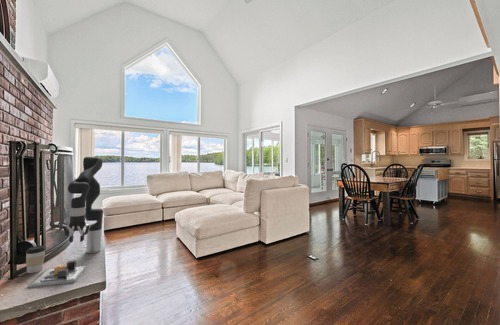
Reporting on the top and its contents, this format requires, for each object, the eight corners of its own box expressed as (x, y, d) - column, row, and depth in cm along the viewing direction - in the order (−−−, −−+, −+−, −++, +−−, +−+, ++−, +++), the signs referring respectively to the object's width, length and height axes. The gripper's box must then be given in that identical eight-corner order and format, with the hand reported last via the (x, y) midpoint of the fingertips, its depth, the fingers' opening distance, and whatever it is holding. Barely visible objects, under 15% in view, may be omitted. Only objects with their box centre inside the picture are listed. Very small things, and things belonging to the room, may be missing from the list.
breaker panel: (44, 272, 135) (44, 262, 135) (85, 268, 142) (86, 258, 142) (27, 287, 120) (27, 275, 119) (74, 282, 127) (75, 270, 127)
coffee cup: (46, 269, 139) (48, 246, 139) (27, 275, 131) (28, 251, 131) (41, 265, 143) (42, 243, 143) (22, 271, 135) (23, 247, 135)
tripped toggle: (56, 272, 131) (56, 264, 131) (64, 272, 132) (64, 264, 132) (54, 274, 129) (54, 266, 129) (62, 274, 130) (62, 265, 130)
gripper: (93, 212, 139) (92, 238, 139) (66, 213, 134) (65, 240, 134) (89, 215, 132) (87, 243, 132) (60, 216, 127) (59, 245, 127)
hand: (76, 241), depth 133 cm, fingers open, 4 cm apart
